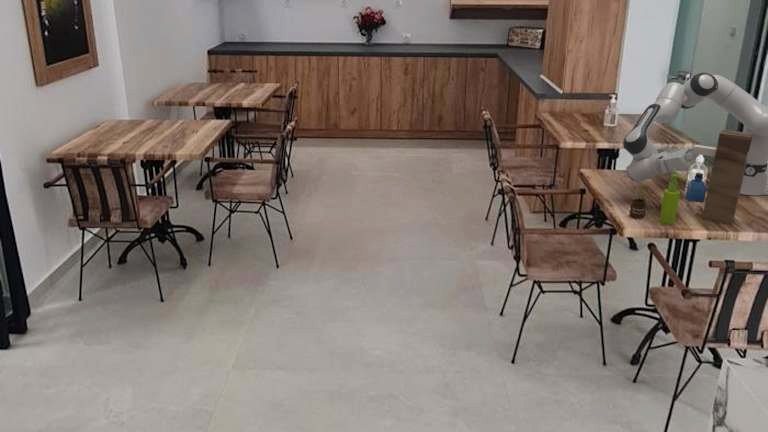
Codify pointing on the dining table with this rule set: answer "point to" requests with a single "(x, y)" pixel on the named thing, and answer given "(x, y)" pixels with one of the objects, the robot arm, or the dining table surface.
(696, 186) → the perfume bottle
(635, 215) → the utensil holder
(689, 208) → the dining table surface
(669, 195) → the soap dispenser
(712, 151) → the rod
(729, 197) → the stand
